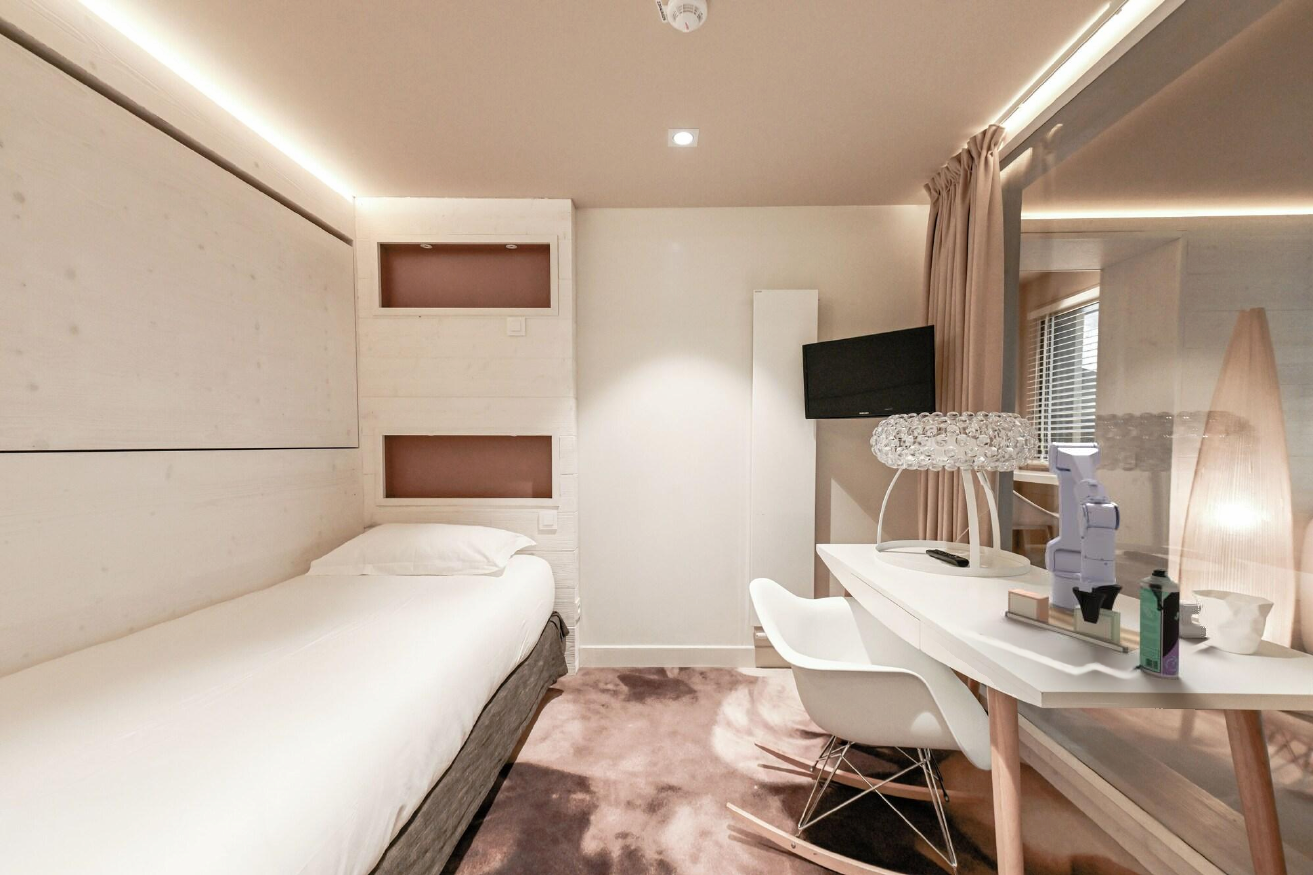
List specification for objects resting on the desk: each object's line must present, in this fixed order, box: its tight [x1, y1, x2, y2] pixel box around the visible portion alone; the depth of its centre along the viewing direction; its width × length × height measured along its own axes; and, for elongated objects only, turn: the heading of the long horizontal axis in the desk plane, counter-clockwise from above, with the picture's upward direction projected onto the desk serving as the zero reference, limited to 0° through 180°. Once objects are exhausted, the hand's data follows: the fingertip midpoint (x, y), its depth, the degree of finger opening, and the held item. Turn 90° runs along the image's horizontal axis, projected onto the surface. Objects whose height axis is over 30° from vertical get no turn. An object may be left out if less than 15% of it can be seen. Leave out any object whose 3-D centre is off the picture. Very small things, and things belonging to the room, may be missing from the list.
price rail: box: [1004, 610, 1129, 653], centre depth 118 cm, size 1×24×2 cm, turn 25°
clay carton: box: [1007, 588, 1050, 622], centre depth 127 cm, size 4×7×6 cm, turn 25°
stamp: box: [1179, 599, 1206, 639], centre depth 118 cm, size 9×7×8 cm
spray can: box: [1139, 568, 1181, 680], centre depth 101 cm, size 6×6×20 cm
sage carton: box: [1073, 605, 1121, 643], centre depth 115 cm, size 4×7×6 cm, turn 34°
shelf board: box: [1047, 606, 1140, 654], centre depth 122 cm, size 17×24×1 cm
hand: (1097, 618), depth 115 cm, fingers open, 7 cm apart
